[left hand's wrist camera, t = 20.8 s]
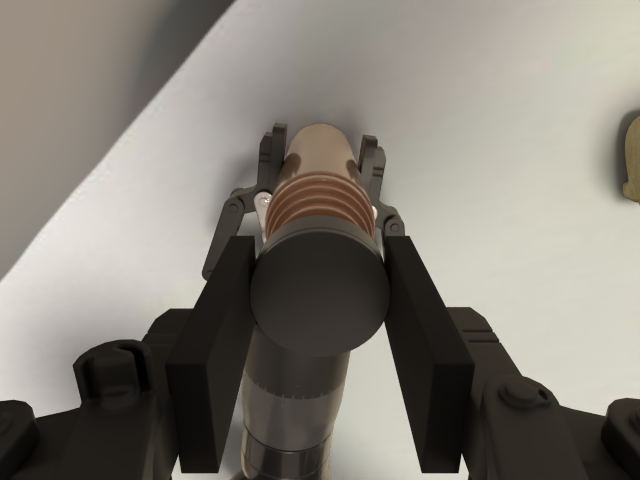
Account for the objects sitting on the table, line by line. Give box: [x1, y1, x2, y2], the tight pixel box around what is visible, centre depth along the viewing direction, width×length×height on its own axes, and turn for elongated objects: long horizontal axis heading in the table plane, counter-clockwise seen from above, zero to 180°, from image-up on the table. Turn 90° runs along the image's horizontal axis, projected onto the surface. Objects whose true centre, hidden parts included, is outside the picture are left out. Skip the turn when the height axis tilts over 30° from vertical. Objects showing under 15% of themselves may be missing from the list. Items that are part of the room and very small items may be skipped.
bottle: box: [265, 123, 375, 241], centre depth 24 cm, size 5×5×21 cm
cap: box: [249, 215, 391, 357], centre depth 14 cm, size 4×4×2 cm
